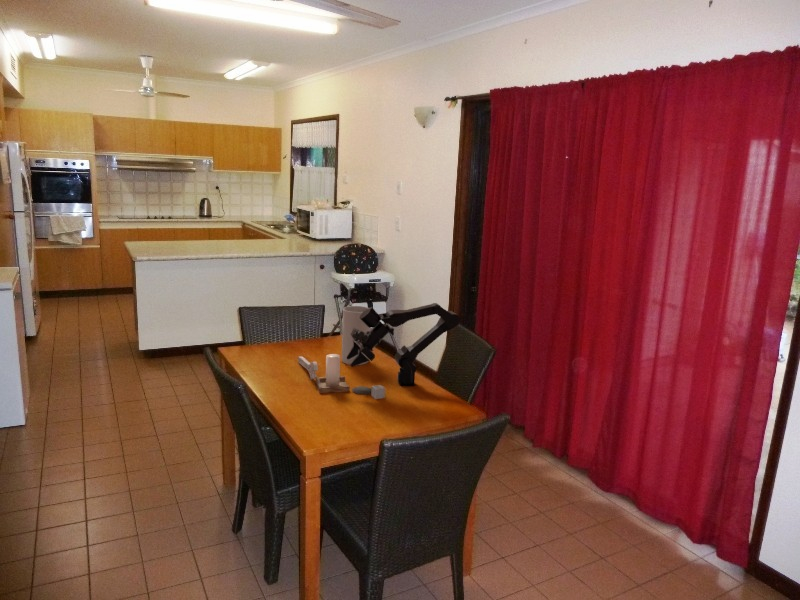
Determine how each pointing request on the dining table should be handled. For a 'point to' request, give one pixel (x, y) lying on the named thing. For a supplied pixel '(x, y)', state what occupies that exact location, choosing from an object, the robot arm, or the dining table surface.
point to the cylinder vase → (350, 322)
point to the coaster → (362, 390)
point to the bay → (341, 388)
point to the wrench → (309, 366)
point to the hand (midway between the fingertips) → (349, 362)
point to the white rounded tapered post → (332, 370)
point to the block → (378, 392)
